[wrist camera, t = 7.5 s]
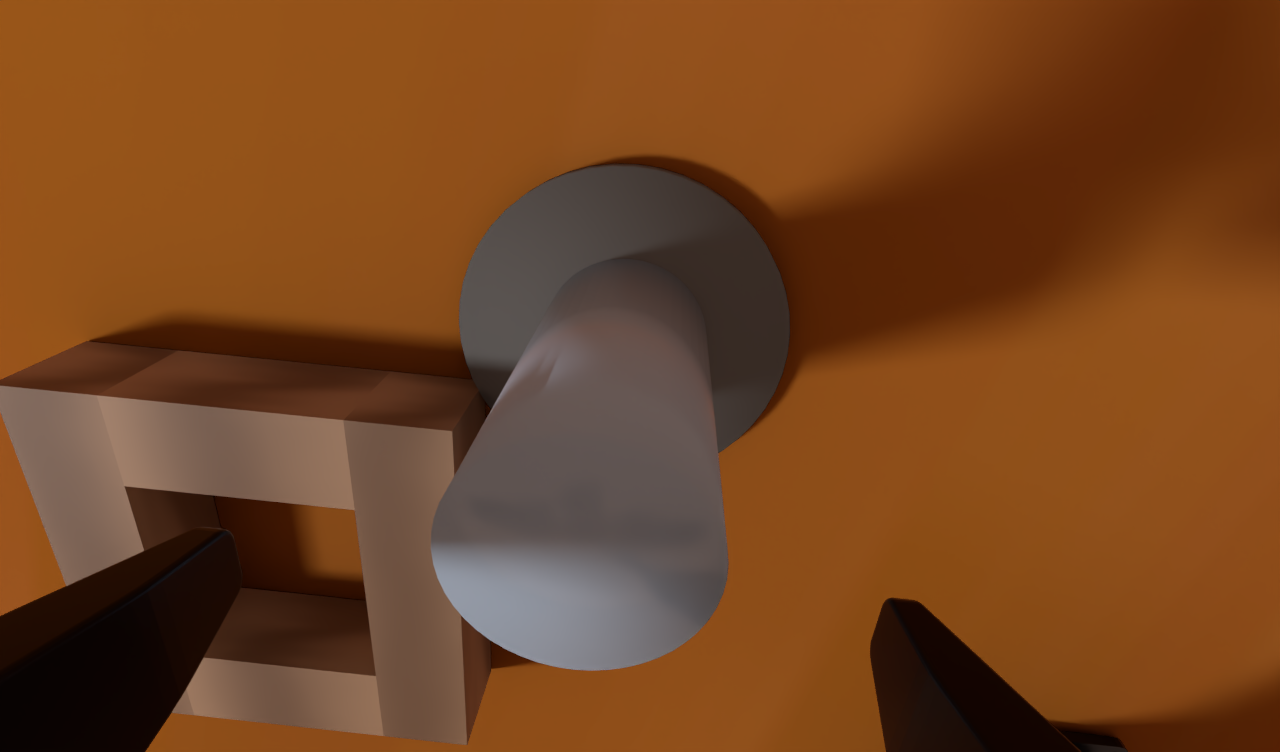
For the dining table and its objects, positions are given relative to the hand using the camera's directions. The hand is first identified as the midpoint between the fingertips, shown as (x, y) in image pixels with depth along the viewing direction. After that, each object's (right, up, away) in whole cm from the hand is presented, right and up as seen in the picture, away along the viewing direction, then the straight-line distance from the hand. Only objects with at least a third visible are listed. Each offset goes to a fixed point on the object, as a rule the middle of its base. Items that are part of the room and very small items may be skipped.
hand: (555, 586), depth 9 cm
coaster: (+1, +4, +9) cm, 10 cm away
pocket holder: (-10, -2, +13) cm, 16 cm away
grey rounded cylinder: (+1, +4, +9) cm, 10 cm away
